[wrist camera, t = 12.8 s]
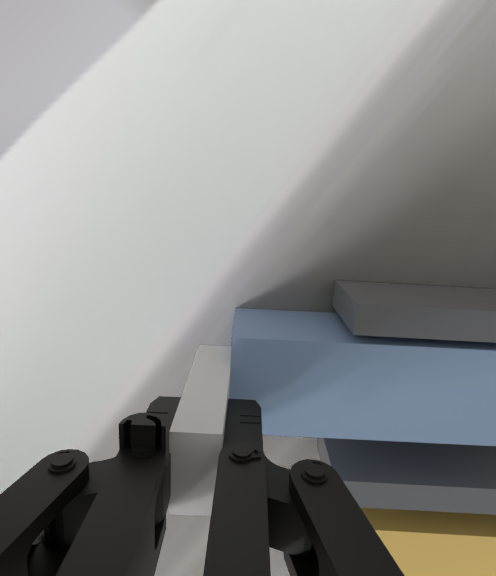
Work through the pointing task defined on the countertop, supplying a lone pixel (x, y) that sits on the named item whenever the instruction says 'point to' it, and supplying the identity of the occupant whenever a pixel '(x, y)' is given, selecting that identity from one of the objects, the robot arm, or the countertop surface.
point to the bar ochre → (437, 541)
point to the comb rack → (413, 455)
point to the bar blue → (361, 381)
